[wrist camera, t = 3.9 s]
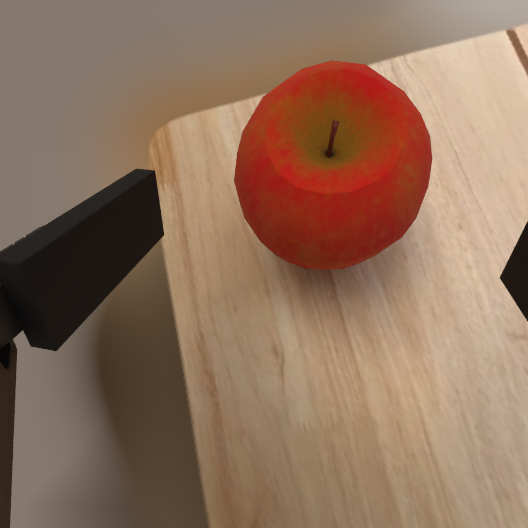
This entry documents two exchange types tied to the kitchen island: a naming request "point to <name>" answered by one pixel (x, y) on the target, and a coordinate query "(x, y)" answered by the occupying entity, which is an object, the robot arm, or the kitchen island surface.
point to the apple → (333, 166)
